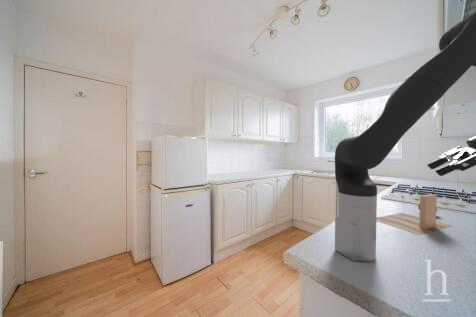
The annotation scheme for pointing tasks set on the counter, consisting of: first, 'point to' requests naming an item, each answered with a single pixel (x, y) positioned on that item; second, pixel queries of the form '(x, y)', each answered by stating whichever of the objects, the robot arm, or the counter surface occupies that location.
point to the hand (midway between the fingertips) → (433, 170)
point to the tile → (428, 211)
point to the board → (408, 223)
